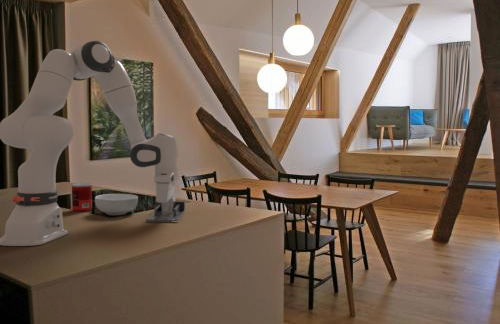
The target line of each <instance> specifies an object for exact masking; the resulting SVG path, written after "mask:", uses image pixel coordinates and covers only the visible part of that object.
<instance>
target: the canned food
mask: <svg viewBox="0 0 500 324" xmlns="http://www.w3.org/2000/svg"><path fill="white" fill-rule="evenodd" d="M92 208H93V186H92V183H89V182H80V183H79V182H78V183H73V184H71V209H72V212H74V213H75V212H77V213H86V212H90V211H92Z"/></svg>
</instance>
